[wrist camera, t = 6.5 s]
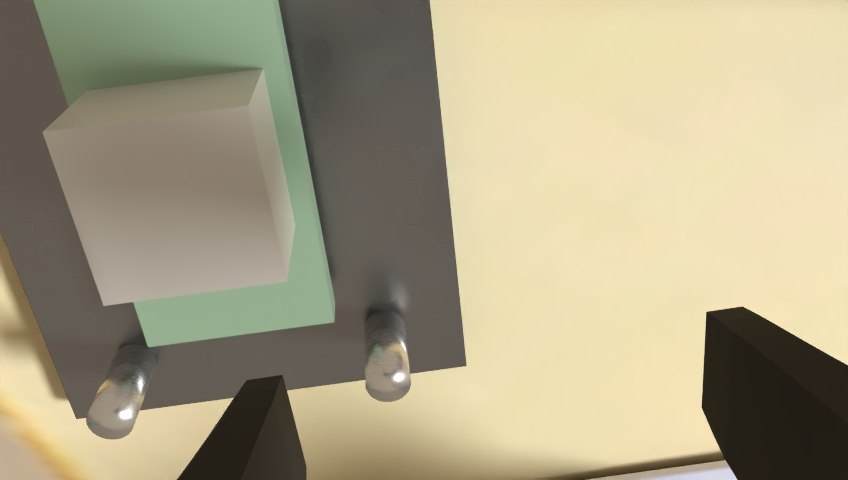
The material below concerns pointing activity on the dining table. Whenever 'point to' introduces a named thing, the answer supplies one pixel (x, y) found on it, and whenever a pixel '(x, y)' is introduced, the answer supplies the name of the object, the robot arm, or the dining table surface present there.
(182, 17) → the board
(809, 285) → the dining table surface
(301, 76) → the chassis
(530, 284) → the dining table surface
